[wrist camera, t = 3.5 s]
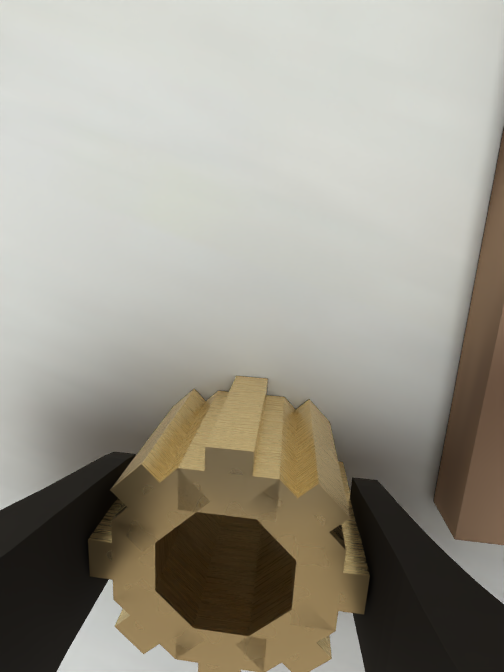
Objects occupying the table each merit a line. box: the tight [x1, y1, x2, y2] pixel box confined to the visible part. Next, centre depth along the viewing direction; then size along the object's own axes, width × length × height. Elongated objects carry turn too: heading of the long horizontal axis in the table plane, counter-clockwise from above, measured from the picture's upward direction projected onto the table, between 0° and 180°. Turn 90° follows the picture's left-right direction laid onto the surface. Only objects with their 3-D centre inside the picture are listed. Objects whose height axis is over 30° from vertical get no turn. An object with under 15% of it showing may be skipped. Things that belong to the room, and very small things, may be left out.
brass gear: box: [88, 376, 370, 672], centre depth 10 cm, size 6×6×4 cm
